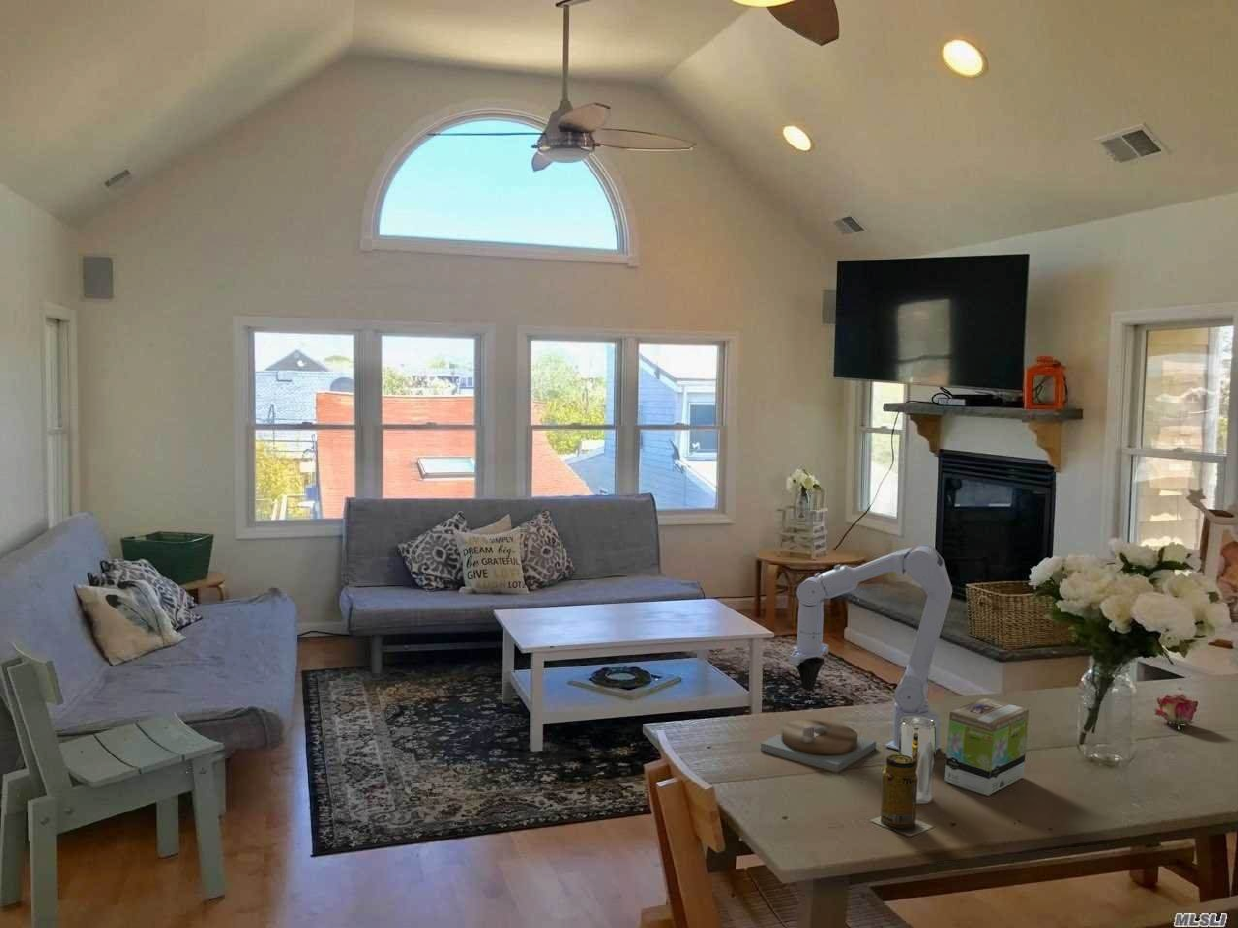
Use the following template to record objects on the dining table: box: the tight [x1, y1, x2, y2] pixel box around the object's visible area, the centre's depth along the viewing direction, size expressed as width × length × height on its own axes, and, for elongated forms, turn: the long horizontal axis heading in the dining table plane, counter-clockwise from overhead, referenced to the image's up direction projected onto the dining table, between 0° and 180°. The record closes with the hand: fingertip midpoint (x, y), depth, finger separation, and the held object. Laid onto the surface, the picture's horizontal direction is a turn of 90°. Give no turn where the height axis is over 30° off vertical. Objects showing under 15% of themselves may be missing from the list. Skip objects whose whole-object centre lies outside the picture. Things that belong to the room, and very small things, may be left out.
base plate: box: [760, 732, 877, 774], centre depth 222 cm, size 18×18×2 cm
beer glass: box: [898, 716, 937, 805], centre depth 197 cm, size 7×7×15 cm
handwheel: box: [781, 719, 859, 755], centre depth 222 cm, size 16×16×5 cm
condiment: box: [870, 753, 934, 837], centre depth 186 cm, size 7×8×12 cm
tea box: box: [943, 697, 1030, 797], centre depth 207 cm, size 15×10×15 cm, turn 134°
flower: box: [1153, 694, 1199, 727], centre depth 242 cm, size 10×9×8 cm
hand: (807, 689), depth 233 cm, fingers closed
